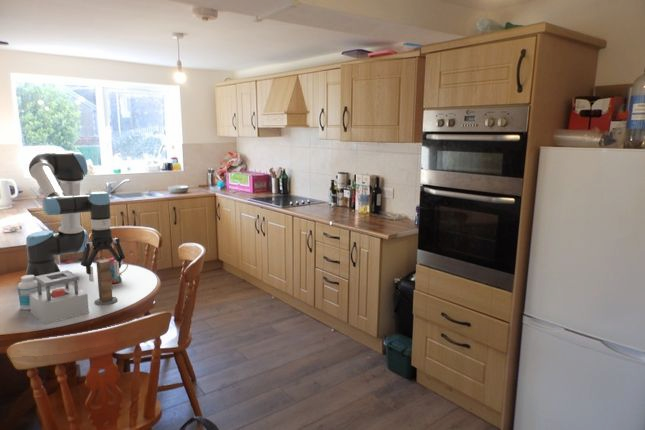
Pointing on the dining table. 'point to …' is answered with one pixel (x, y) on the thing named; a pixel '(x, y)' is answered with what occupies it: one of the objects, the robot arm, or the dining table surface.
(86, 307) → the box
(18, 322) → the dining table surface
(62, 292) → the breaker button
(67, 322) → the dining table surface
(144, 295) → the dining table surface
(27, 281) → the pill bottle
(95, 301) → the pad
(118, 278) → the mug
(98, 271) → the brown wooden block
